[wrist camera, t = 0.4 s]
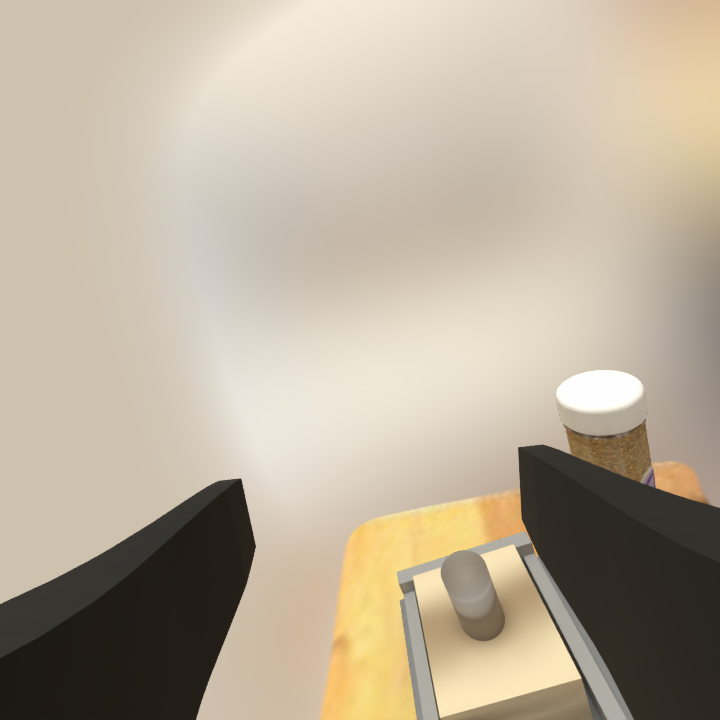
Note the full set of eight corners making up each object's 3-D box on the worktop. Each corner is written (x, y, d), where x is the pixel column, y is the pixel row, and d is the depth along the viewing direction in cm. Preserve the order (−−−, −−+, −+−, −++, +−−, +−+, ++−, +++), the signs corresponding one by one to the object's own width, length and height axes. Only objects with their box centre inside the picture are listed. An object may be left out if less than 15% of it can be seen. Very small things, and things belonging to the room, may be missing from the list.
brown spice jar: (664, 586, 25) (640, 410, 20) (583, 565, 28) (545, 407, 23) (668, 529, 28) (647, 365, 23) (594, 516, 31) (563, 367, 26)
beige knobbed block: (593, 720, 20) (566, 623, 17) (460, 756, 21) (414, 668, 18) (525, 581, 27) (498, 498, 25) (428, 610, 28) (393, 533, 26)
